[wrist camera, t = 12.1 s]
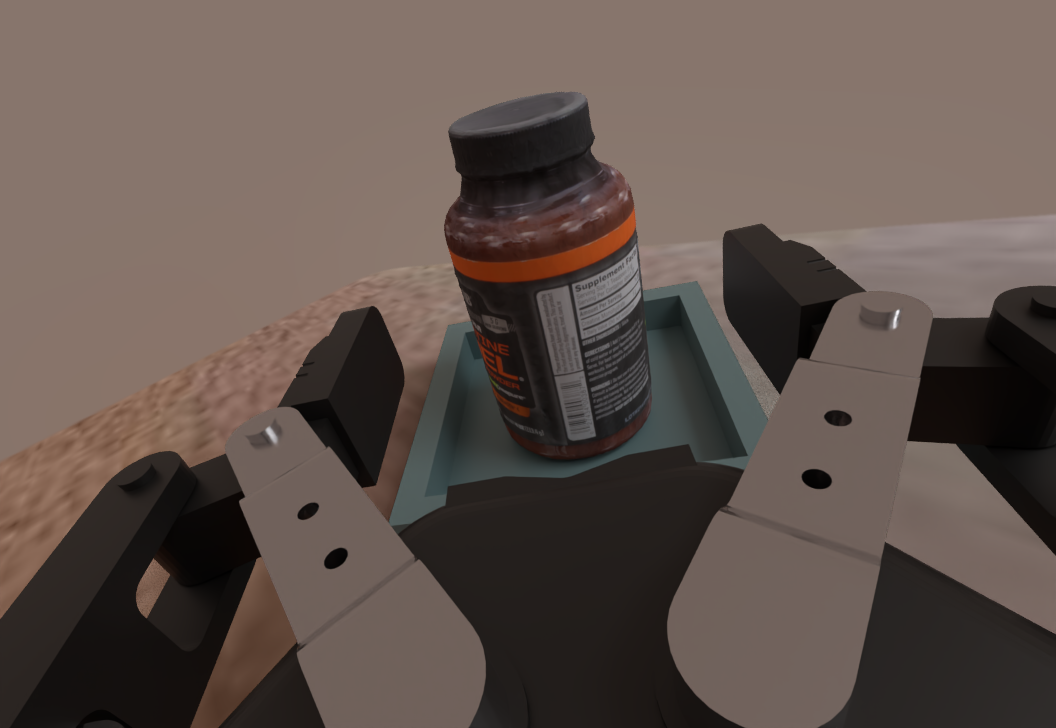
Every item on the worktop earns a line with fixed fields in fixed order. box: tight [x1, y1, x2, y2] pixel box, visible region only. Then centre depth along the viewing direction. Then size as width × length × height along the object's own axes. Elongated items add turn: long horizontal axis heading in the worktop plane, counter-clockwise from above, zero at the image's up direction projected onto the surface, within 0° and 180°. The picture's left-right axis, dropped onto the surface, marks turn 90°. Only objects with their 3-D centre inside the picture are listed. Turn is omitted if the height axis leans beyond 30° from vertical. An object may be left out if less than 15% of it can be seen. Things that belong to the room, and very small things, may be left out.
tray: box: [389, 281, 768, 534], centre depth 21 cm, size 12×12×2 cm
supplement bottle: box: [444, 92, 652, 460], centre depth 18 cm, size 6×6×11 cm
